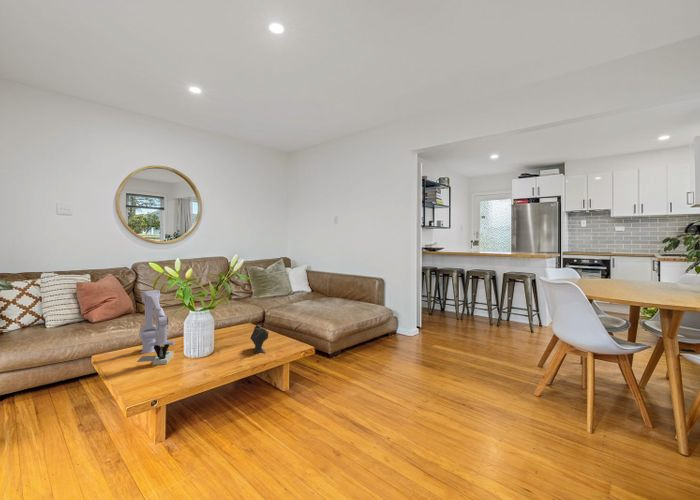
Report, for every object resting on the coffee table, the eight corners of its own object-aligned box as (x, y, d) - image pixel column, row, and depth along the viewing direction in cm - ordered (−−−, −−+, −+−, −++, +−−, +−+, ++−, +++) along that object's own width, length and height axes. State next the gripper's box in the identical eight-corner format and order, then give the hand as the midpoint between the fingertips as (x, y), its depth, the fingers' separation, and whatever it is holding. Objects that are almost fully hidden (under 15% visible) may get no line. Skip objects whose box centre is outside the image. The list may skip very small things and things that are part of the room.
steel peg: (159, 360, 212) (159, 346, 212) (164, 359, 213) (164, 346, 213) (158, 362, 209) (158, 348, 209) (163, 361, 210) (163, 347, 210)
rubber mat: (141, 356, 220) (141, 356, 220) (158, 355, 222) (158, 355, 222) (136, 362, 210) (136, 361, 210) (154, 361, 213) (154, 360, 213)
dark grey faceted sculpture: (272, 346, 247) (272, 322, 246) (265, 353, 232) (265, 328, 231) (253, 345, 248) (254, 321, 247) (245, 352, 233) (245, 327, 232)
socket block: (160, 356, 222) (160, 351, 222) (173, 355, 224) (173, 351, 224) (152, 365, 206) (152, 360, 206) (166, 364, 208) (166, 359, 208)
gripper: (146, 338, 205) (146, 359, 205) (172, 336, 209) (172, 358, 209) (150, 334, 211) (150, 355, 212) (175, 333, 215) (175, 354, 216)
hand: (161, 356), depth 211 cm, fingers closed on steel peg, 3 cm apart
